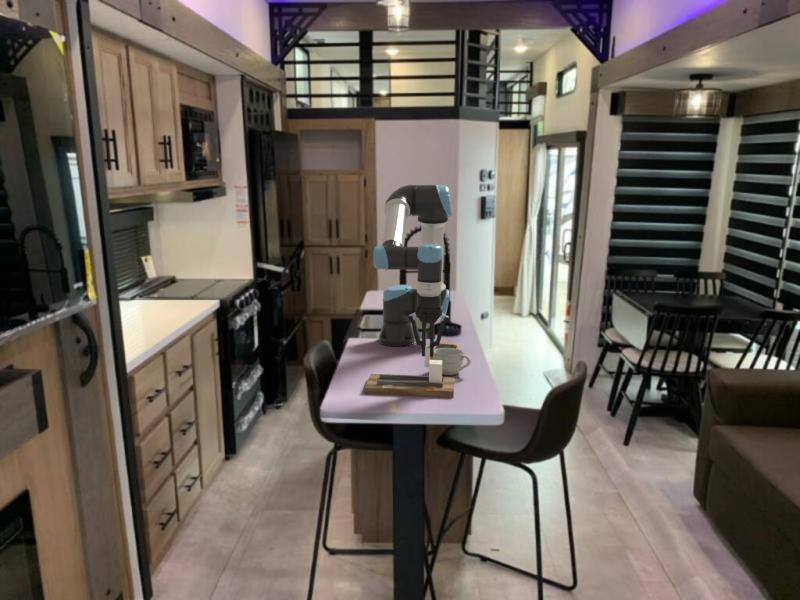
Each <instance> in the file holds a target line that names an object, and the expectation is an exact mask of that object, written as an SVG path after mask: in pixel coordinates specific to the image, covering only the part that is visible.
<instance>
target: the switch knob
mask: <svg viewBox="0 0 800 600" xmlns="http://www.w3.org/2000/svg"><path fill="white" fill-rule="evenodd" d="M428 368H429V369H428V371H429V372H428V376H429V382H431V383H442V377H443V374H442V360H430V363H429V367H428Z"/></svg>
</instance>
